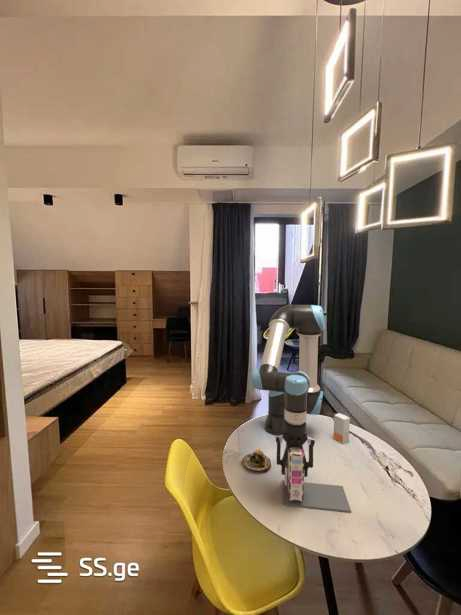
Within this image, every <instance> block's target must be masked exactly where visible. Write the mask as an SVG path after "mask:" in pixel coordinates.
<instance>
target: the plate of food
mask: <svg viewBox="0 0 461 615" xmlns="http://www.w3.org/2000/svg"><path fill="white" fill-rule="evenodd" d="M271 462H272V461H271V459H270V458H269V457H268V456H266V455H265V454H264V452H263V451H262V450H261V448H258V449H256V450H254V451H253V452H252V453H249V454H247V455H245V456H244V457H243V458H242V460H241V463H242V465H243V466H244V467H245V468H247V469H249V470H251V471H256V472H258V471H259V472H260V471H261V472H263V471H266V472H269V471H270V469H271V467H272V463H271Z"/></svg>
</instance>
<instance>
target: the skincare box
mask: <svg viewBox="0 0 461 615" xmlns="http://www.w3.org/2000/svg"><path fill="white" fill-rule="evenodd" d="M333 419H334V420H333V433H332V434H333V439H335V441H338V442H339V443H341V444H342V445H344V444H347V443H349V442H350V423H351V422H350V420H351V417H349V416H347V415H345V414H342V413H339V412H338V413H335V414H334V415H333Z"/></svg>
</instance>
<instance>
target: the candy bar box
mask: <svg viewBox="0 0 461 615" xmlns="http://www.w3.org/2000/svg"><path fill="white" fill-rule="evenodd" d="M285 443H286V442H285ZM286 444H287V443H286ZM304 454H305V453H304ZM304 454H303V451H302V449H299V447H291V448H288V459H287V462H286V463H287V489H288V495H289V500H290V501H303V485H304V482H305V477H304Z"/></svg>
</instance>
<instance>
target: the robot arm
mask: <svg viewBox="0 0 461 615" xmlns="http://www.w3.org/2000/svg"><path fill="white" fill-rule="evenodd" d="M325 323H326V322H325V314H324V310H323V307H322V305H314V304H288V305H287V304H286V305H284V306H282V307H280V308H279V309H278V310H277V311H275V312H274V313H273V314H272V316H271V318H270V321H269V324H268V328H269V331H268V336H267V340H266V344H265V347H264V351H263V354H262V358H261V362H260V365H259V369H258V368H257V369H253V371H252V372H251V376H250V384H251V385H250V386H251V388H253V389H255V390H260V391H268V394H267V396H268V405H267V406H268V407H267V408H268V410H267V411H268V413H267V417H266V420H265V422H264V429H265V431H266V432H267V433H268V434H271V435H273V436H275V441H276V465H277V466H279V465H280V466H281V475H282V476H284V479H283V480H284V481H285V485H287V463H286V462H287V459H288V448H291V447H299V449H302V451H303V454H304V478H307V477H308V474H309V473H308V470H309V468H311V469H312V468H313V467H314V447H315V443H316V442H315V441H316V440H315V437H312V436H310V437H309V436H308V435H307V415H308V416H312V415H313V416H314V415H315V416H318V415H319V414H320V413H321V409H322V402H323V398H324V397H323V396H324V391H323V390H321V386H320V385H319V384H318V360H319V359H318V358H319V357H318V355H319V337H320V336H322V333H323V332H322V331H326V330H325V329H326V327H325V326H326V325H325ZM290 329H292V330H296V334H297V335H298V336H299V352H298V353H299V357H298V358H299V362H298V365H299V367H298V368H299V369H298V371H295V372H293V373H291V372H284V371H283V372H282V371H279V368H280V365H281V359H282V355H283V351H284V350H283V349H284V345H285V340H286V334H287V333H288V332H289V331H290ZM283 440H284V442H285V443H287V444H286V445H285V448H284V452H283V455H282V458H281V449H282V447H281V444H282V443H283ZM306 442H307V444H308V461H307V458H306V455H305V454H306V453H305V450H304V444H305V443H306ZM303 487H304V485H303Z"/></svg>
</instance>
